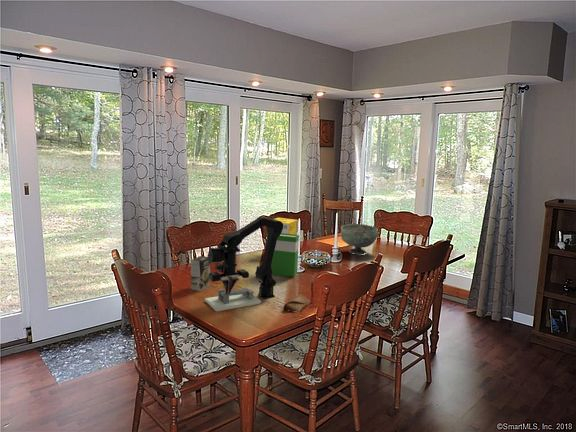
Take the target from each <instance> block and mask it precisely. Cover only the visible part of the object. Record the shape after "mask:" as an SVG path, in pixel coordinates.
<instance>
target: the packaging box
mask: <svg viewBox="0 0 576 432" xmlns="http://www.w3.org/2000/svg"><path fill="white" fill-rule="evenodd" d="M274 219H275V220H278V221H281V222H282V223H283V225H284V226H283V230H282V233H286V234H296V235H297V232H298V233H299V226H298V220H299V219H292V218H284V217H275V218H274Z"/></svg>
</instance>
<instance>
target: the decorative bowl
mask: <svg viewBox="0 0 576 432" xmlns="http://www.w3.org/2000/svg"><path fill="white" fill-rule="evenodd" d="M340 228H341V229H340V230H341V231H340V233H341V234H340V235H341V237H340V238H341V240H342V242H344V243H346V244H347V245H348V246H351V247H354V248H351V249H349V251H348V253H349V252H351V253H354V254H364V253H366V252H367V251H366V250H365V249H363V248H367V247H370V246H371V245H373V244H374V243H375V242H376V240H377V238H378V236H379V232H378V231H379V228H378V227H376V226H372V225H368V224H363V223H361V224H360V223H348V224H344V225H342V226H340Z"/></svg>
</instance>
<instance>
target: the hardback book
mask: <svg viewBox="0 0 576 432" xmlns="http://www.w3.org/2000/svg"><path fill="white" fill-rule="evenodd" d="M267 238H268V234H267V233H266V239H267ZM299 242H300V234H298V235H296V234H286V233H281V235H280V236H279V237H278V238H277V242H276V247H275V251H274V255H273V260H272V264H271V268H272V276H280V275H281V276H282V277H288V276H292V277H291V278H295V277H296V276H297V275H296V274H298V266H299V265H298V263H299V262H298V261H299V246H300V245H299V244H300V243H299ZM295 275H296V276H295ZM294 276H295V277H294Z"/></svg>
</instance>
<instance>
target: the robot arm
mask: <svg viewBox="0 0 576 432" xmlns="http://www.w3.org/2000/svg"><path fill="white" fill-rule="evenodd" d="M283 226H284V225H283V223H282V222H281V221H278V220H275V218H271V219H267V218H265V217H263V216H258V217H256V219H254V220H253V221H251V222H249V223H248V224H246V225H244V226H243V227H241V228H240V229H237V230H235V231H232V232H228V233H226V234H225V235H223V237H222V240H221V242H220V243H219V244H218V246H217V247H210V248H209V251H208V252H207V257H208V261H209V262H210V264H212V263H213V264H214V270H215V271H212V272H211V271H210V273H209V275H208V278H209V279H210V282H220V281H221V282H222V284H223V287H224V291H226V292H227V293H228V291H229V292H231V291H232V290H233V288H234V286H235V284H236V283H237V281H240V279H239V277H241V278H243V279H247V278H249V277H250V273H249V272H248V271H247V270H246V269H242V268H241V269H237V270H236V267H238V265H237V263H236V262H237V261H236V260H237V252H238V253H239V252H241V249H240V248H239V245H241V243H242V242H243V240H244V239H245V238H247V237H249V235H252V234H253V233H255V232H256V231H258V230H259V229H261V228H262V227H266V235H267V234H268V238H267V237H266V242H265V247H264V253H263V257H262V261H261V264H260V266H256V270H255V273H254V274H255V278H256V279H257V281H258V283H259V287H258V293H257V295H258V296H260V297H261V298H262V299H270V298H275V297H276V296H275V294H274V287H275V286H276V285H277V281H276V280H275V279H274V278H273V275H272V268H271V264H272V260H273V255H274V251H275V247H276V242H277V238H278V237H279V236H280V235H281V233H282V230H283ZM217 271H218V272H217Z"/></svg>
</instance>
